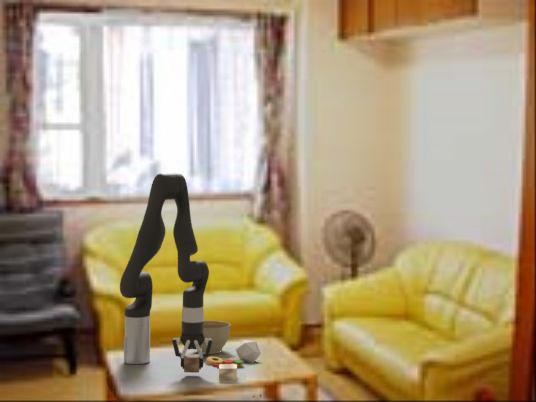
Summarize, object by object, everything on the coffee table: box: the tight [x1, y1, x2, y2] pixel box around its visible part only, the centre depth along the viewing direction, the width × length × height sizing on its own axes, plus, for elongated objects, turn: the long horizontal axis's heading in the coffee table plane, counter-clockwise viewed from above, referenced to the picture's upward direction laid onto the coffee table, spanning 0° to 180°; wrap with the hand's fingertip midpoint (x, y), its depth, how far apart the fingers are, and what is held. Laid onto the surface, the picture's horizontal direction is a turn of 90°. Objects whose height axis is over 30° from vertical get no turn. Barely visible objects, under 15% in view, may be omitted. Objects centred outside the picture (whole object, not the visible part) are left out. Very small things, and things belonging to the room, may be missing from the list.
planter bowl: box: [196, 320, 231, 355], centre depth 331 cm, size 16×16×11 cm
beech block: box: [218, 364, 238, 380], centre depth 289 cm, size 6×6×4 cm
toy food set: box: [205, 356, 245, 370], centre depth 308 cm, size 13×13×3 cm
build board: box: [209, 373, 247, 384], centre depth 289 cm, size 12×12×1 cm
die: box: [235, 339, 262, 364], centre depth 316 cm, size 8×9×10 cm
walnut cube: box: [183, 353, 200, 374], centre depth 291 cm, size 5×5×5 cm
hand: (192, 368), depth 291 cm, fingers closed on walnut cube, 5 cm apart
